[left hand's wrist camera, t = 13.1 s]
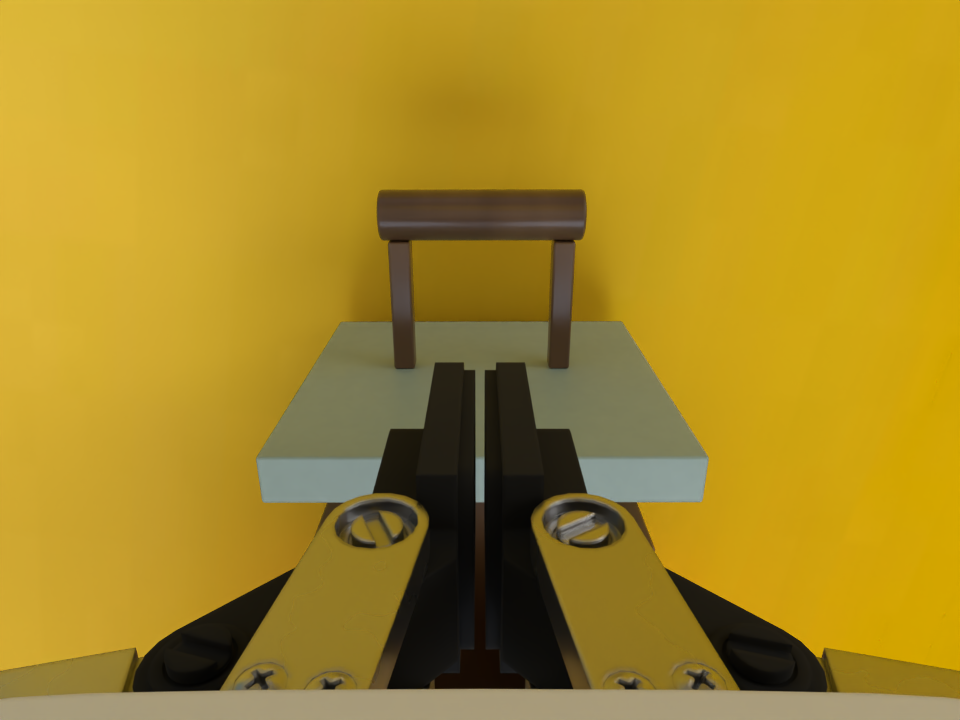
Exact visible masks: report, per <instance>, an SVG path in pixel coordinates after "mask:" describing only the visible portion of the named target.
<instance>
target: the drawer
mask: <svg viewBox="0 0 960 720" xmlns="http://www.w3.org/2000/svg"><path fill="white" fill-rule="evenodd" d="M586 216H587V205H586V196H585V192H584V191H583V190H381V191H379V194H378V198H377V225H378V232H379V236H380V238H381V240H384V241H389V243H388V254H389V273H390V291H391V310H392V322H341V323H340V324H339V326H338V328H337V329H336V331H335V332H334V334H333V336H332V337H331V339H330V340H329V342H328V344H327V345H326V347H325V348H324V350H323V352H322V353H321V355H320V357H319V358H318V360H317V361H316V363H315V365H314V366H313V368H312V369H311V371H310V373H309V374H308V376H307V377H306V379H305V381H304V382H303V384H302V385H301V387H300V389H299V390H298V392H297V393H296V395H295V397H294V398H293V400H292V401H291V403H290V405H289V406H288V408H287V409H286V411H285V413H284V414H283V416H282V417H281V419H280V421H279V422H278V424H277V425H276V427H275V429H274V430H273V432H272V433H271V435H270V437H269V438H268V440H267V441H266V443H265V445H264V446H263V448H262V449H261V451H260V453H259V454H258V456H257V458H256V461H257V468H258V475H259V482H260V489H261V495H262V501H263V502H265V503H327V505H326V507H325V510H324V513H323V515H322V518H321V521H320V523H319V526H318V528H317V531H316V534H317V532H318V531H319V529H320V527H321V526H322V524H323V523H324V521H325V519H326V518H327V517H328V515H329V514H330V513H331V512H332V511H333V510H334V509H335V508H336V507H338V506H340V505H341V504H343V503H344V502H346V501H348V500H351V499H354V498H356V497H359V496H363V495H369V494H372V493H373V490H374V486H375V482H376V479H377V475H378V471H379V468H380V464H381V460H382V457H383V453H384V449H385V446H386V442H387V438H388V434H389V431H390V429H424V424H425V418H426V412H427V406H428V400H429V394H430V388H431V383H432V377H433V371H434V365H435V362H464V370H475V410H476V531H475V628H474V649H461V654H460V673H442V674H440V675H439V676H438V677H437V678H435V689H525V678H523V677H522V676H521V675H520V674H518V673H500V654H499V649H486V628H485V532H484V410H485V370H496V362H525V365H526V371H527V377H528V383H529V388H530V394H531V400H532V406H533V412H534V418H535V424H536V429H570V431H571V434H572V438H573V442H574V446H575V449H576V453H577V457H578V460H579V464H580V468H581V471H582V475H583V479H584V482H585V486H586V490H587V493H588V494H591V495H597V496H601V497H604V498H606V499H609V500H612V501H614V502H616V503H617V504H619V505H620V506H622V507H624V508H625V509H626V510H627V511H628V512H629V513H630V514H631V515H632V517H633V518H634V519H635V521H636V523H637V524H638V526H639V527H640V529H641V531H642V532H643V534H644V536H645V537H646V539H647V540H648V542H649V544H650V545H651V547H652V548H653V550H654V552H655V548H654V545H653V543H652V540H651V538H650V535H649V532H648V530H647V527H646V525H645V522H644V520H643V517H642V514H641V512H640V509H639V507H638V504H637V502H701V501H702V500H703V493H704V486H705V479H706V472H707V466H708V459H709V458H708V456H707V454H706V453H705V451H704V449H703V448H702V446H701V445H700V443H699V442H698V440H697V438H696V437H695V435H694V434H693V432H692V431H691V429H690V427H689V426H688V424H687V423H686V421H685V420H684V418H683V417H682V415H681V413H680V412H679V410H678V409H677V407H676V406H675V404H674V402H673V401H672V399H671V398H670V396H669V395H668V393H667V391H666V390H665V388H664V387H663V385H662V384H661V382H660V380H659V379H658V377H657V376H656V374H655V373H654V371H653V370H652V368H651V366H650V365H649V363H648V362H647V360H646V359H645V357H644V355H643V354H642V352H641V351H640V349H639V348H638V346H637V344H636V343H635V341H634V340H633V338H632V337H631V335H630V333H629V332H628V330H627V329H626V327H625V326H624V324H623V323H622V322H621V321H576V322H571V318H572V299H573V280H574V261H575V242H574V240H581V239H583V236H584V233H585V228H586ZM411 240H552V245H551V271H550V296H549V322H415V313H414V288H413V263H412V241H411ZM316 534H315V536H316ZM315 536H314V537H315Z"/></svg>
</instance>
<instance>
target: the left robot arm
mask: <svg viewBox="0 0 960 720" xmlns="http://www.w3.org/2000/svg"><path fill="white" fill-rule="evenodd" d="M475 531H476V410H475V370H464V362H435V365H434V371H433V377H432V383H431V388H430V394H429V400H428V406H427V412H426V418H425V424H424V429H390V431H389V434H388V438H387V442H386V446H385V449H384V453H383V457H382V460H381V464H380V468H379V471H378V475H377V479H376V482H375V486H374V490H373V493H372V494H369V495H363V496H359V497H356V498H354V499H351V500H348V501H346V502H344V503H343V504H341V505H340V506H338V507H336V508H335V509H334V510H333V511H332V512H331V513H330V514H329V515H328V517H327V518H326V519H325V521H324V523H323V524H322V526H321V527H320V529H319V531H318V532H317V534H316V536H315V537H314V539H313V540H312V542H311V544H310V545H309V547H308V548H307V550H306V552H305V553H304V555H303V557H302V558H301V560H300V561H299V563H298V565H297V566H296V568H294V569H292V570H290V571H288V572H286V573H284V574H282V575H280V576H279V577H277V578H275V579H273V580H271V581H269V582H267V583H265V584H263V585H261V586H260V587H258V588H256V589H254V590H252V591H250V592H248V593H246V594H244V595H242V596H241V597H239V598H237V599H235V600H233V601H231V602H229V603H227V604H225V605H224V606H222V607H220V608H218V609H216V610H214V611H212V612H210V613H208V614H206V615H205V616H203V617H201V618H199V619H197V620H195V621H193V622H191V623H189V624H187V625H186V626H184V627H182V628H180V629H178V630H176V631H175V632H173V633H172V634H170V635H168V636H167V637H165V638H164V639H162V640H161V641H159V642H158V643H157V644H156V645H155V646H154V647H153V648H152V649H151V650H150V651H149V652H148V653H147V654H146V655H145V656H144V657H141V658H138V655H137V651H136V648H131V649H125V650H119V651H114V652H108V653H102V654H96V655H90V656H85V657H79V658H73V659H67V660H61V661H55V662H50V663H44V664H38V665H32V666H26V667H21V668H15V669H9V670H3V671H0V720H960V671H957V670H951V669H945V668H939V667H934V666H928V665H922V664H916V663H910V662H904V661H899V660H893V659H887V658H881V657H875V656H870V655H864V654H858V653H852V652H846V651H841V650H835V649H829V648H824V651H823V655H822V658H819V657H816V656H815V655H814V654H813V653H812V652H811V651H810V650H809V649H808V648H807V647H806V646H805V645H804V644H803V643H802V642H801V641H799V640H798V639H796V638H795V637H793V636H792V635H790V634H788V633H787V632H785V631H784V630H782V629H780V628H778V627H776V626H774V625H773V624H771V623H769V622H767V621H765V620H763V619H761V618H759V617H757V616H755V615H754V614H752V613H750V612H748V611H746V610H744V609H742V608H740V607H738V606H736V605H735V604H733V603H731V602H729V601H727V600H725V599H723V598H721V597H719V596H718V595H716V594H714V593H712V592H710V591H708V590H706V589H704V588H702V587H700V586H699V585H697V584H695V583H693V582H691V581H689V580H687V579H685V578H683V577H681V576H680V575H678V574H676V573H674V572H672V571H670V570H668V569H666V568H664V566H663V565H662V563H661V561H660V560H659V558H658V557H657V555H656V553H655V552H654V550H653V548H652V547H651V545H650V544H649V542H648V540H647V539H646V537H645V536H644V534H643V532H642V531H641V529H640V527H639V526H638V524H637V523H636V521H635V519H634V518H633V517H632V515H631V514H630V513H629V512H628V511H627V510H626V509H625V508H624V507H622V506H620V505H619V504H617V503H616V502H614V501H612V500H609V499H606V498H604V497H601V496H597V495H591V494H588V493H587V490H586V486H585V482H584V479H583V475H582V471H581V468H580V464H579V460H578V457H577V453H576V449H575V446H574V442H573V438H572V434H571V431H570V429H536V424H535V418H534V412H533V406H532V400H531V394H530V388H529V383H528V377H527V371H526V365H525V362H496V370H485V410H484V532H485V628H486V649H499V654H500V673H518V674H520V675H521V676H522V677H523V678H525V689H435V678H437V677H438V676H439V675H440V674H442V673H460V654H461V649H474V628H475Z"/></svg>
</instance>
